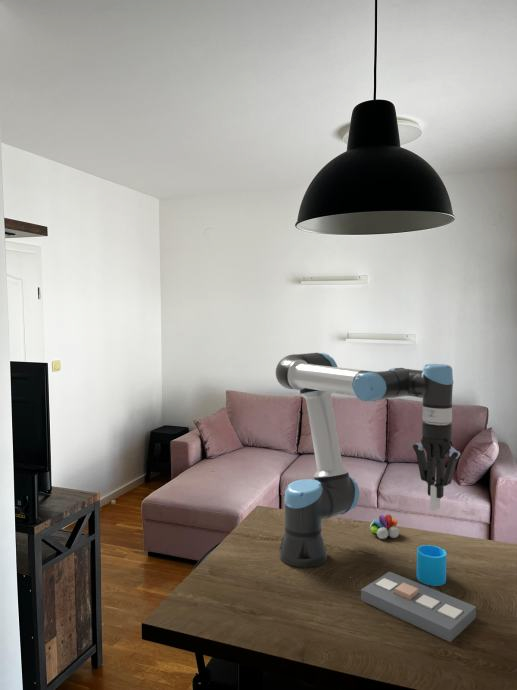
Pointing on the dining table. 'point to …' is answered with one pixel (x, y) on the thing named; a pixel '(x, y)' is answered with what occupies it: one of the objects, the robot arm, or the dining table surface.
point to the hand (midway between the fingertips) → (435, 508)
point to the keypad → (420, 607)
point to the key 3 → (427, 602)
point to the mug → (431, 565)
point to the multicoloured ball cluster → (385, 527)
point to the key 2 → (406, 591)
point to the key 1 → (386, 584)
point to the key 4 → (450, 611)
